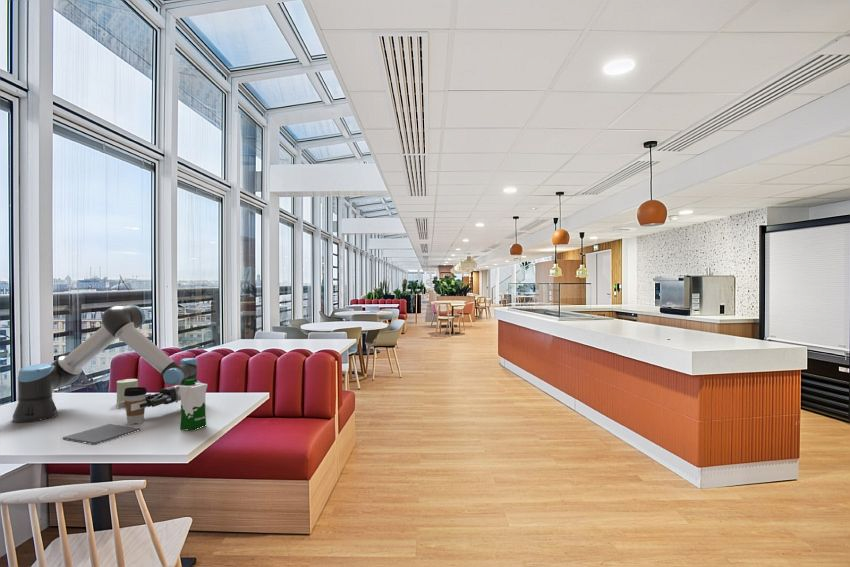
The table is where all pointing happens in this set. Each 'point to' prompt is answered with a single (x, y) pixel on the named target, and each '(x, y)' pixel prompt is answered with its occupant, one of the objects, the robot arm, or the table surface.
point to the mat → (101, 433)
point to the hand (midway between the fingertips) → (124, 406)
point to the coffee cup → (133, 397)
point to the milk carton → (192, 404)
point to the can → (124, 387)
